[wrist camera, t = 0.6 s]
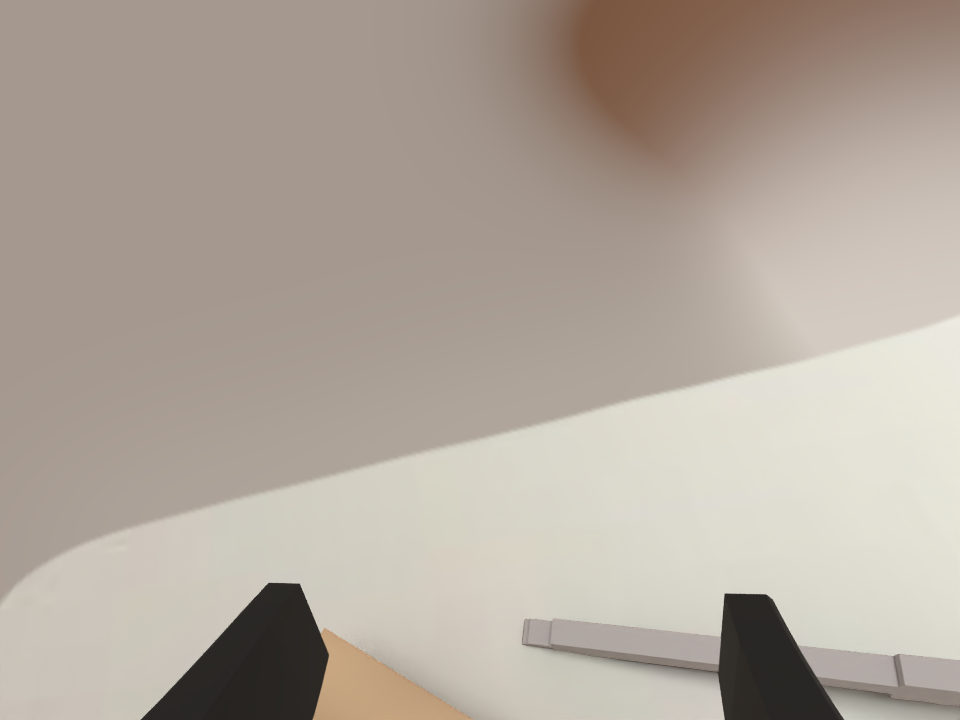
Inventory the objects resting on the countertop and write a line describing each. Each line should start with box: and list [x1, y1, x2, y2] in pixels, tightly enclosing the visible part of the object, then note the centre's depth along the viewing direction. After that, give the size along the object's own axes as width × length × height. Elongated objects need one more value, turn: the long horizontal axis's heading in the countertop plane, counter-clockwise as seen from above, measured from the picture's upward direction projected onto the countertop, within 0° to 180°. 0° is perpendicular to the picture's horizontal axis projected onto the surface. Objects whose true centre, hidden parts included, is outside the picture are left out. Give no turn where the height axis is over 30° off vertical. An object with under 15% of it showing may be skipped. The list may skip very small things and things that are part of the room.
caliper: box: [522, 619, 960, 706], centre depth 23 cm, size 20×1×6 cm, turn 80°
